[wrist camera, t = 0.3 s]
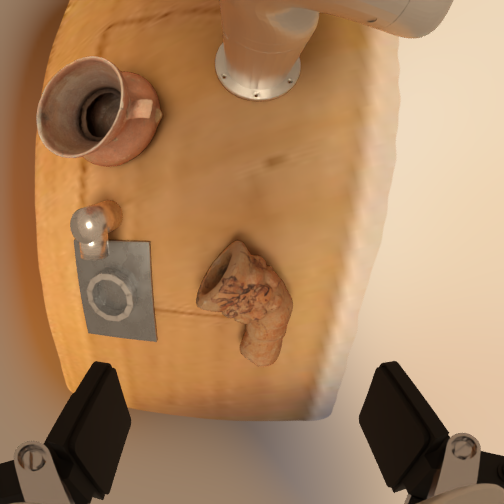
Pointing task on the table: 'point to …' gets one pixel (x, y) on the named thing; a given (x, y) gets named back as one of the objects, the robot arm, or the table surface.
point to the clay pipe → (248, 300)
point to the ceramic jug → (97, 113)
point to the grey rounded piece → (95, 228)
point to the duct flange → (118, 291)
